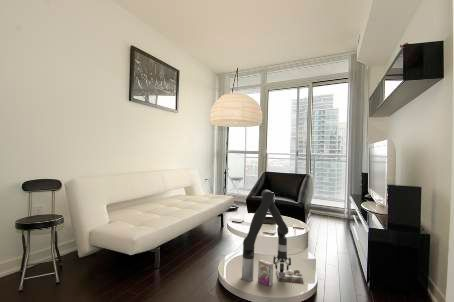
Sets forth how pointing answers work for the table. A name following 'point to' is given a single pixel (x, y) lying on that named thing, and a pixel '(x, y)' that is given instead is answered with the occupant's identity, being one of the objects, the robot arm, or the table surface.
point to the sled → (281, 270)
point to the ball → (290, 272)
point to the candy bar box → (265, 273)
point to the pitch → (291, 277)
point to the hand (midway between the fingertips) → (281, 269)
